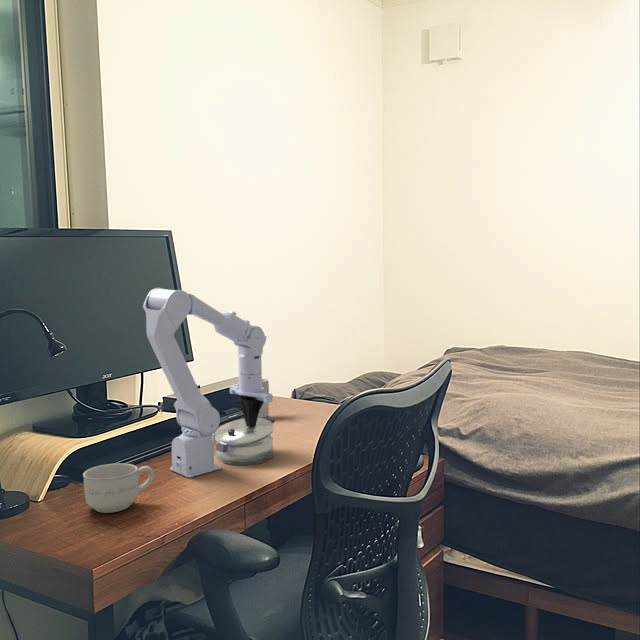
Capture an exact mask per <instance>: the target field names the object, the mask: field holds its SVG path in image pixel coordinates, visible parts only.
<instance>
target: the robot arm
mask: <svg viewBox="0 0 640 640" xmlns="http://www.w3.org/2000/svg"><path fill="white" fill-rule="evenodd" d="M146 295H147V296H146V298H145V300H144V302H143V305H142V308H143V310H144V312H145V318H146V319H145V321H146V322H145V324H146V326H145V327H146V337H147V340H148V342H149V344H150V346H151V348H152V350H153V352H154V354H155V357H156V359H157V360H158V363H159V365H160V367H161V369H162V371H163V374H164V375H165V377H166V380H167V382H168V384H169V385H170V388H171V390H172V393H173V394H174V396H175V398H176V401H175V402H174V403H173V407H174V409H175V411H176V412H175V414H176V415H175V417H176V421H177V424H178V425H179V426H180V427H181V431H182V433H181V434H179V436H177V437H175V438H173V439H172V441H171V466H170V469H169V470H170V471H173V472H175V473H177V474H180V475H182V476H185V477H186V478H193V477H197V476H200V475H203V474H207V473H210V472H215V471H216V470H221V469H222V465H219V464H216V463H215V443H214V441H215V431H216V430H217V429H218V428H219V425H220V422H221V416H220V412H219V411H218V410H217V409H216V408H215V407H213V406H212V404H211V402H210V401H209V399H207V398H206V397H205V396H204V394H202V393H201V392H200V389H199V388H198V386H197V383H196V381H195V379H194V376H193V374H192V371H191V370H190V367H189V365H188V363H187V361H186V359H185V357H184V355H183V352H182V350H181V348H180V346H179V344H178V342H177V340H176V337H175V333H176V331H177V330H178V329H179V328H180V326H181V324H182V323H183V322H184V320H185V319H186V318H187V317H188V315H189V316H195V317H197V318H199V319H201V320H202V321H206V322H207V323H209V324H211V325H213V327H214V328H213V329H214V330H215V332H216V333H217V334H219V335H221V336H223V337H224V338H227V339H229V340H230V341H233V344H234V345H235V346H237V349H238V351H237V355H238V356H237V357H238V385H237V384H234V385H229V394H231V395H239V396H240V398H237V399H236V402H237V404H238V406H239V407H240V409H241V412H242V415H243V417H244V418H243V419H245V422H246V426H248V427H252V426H255V425H256V422H257V418H258V414H259V411H260V409H261V406H262V405H263V403H264V402H265V403H269V404H270V403H272V402H274V401H273V393H270V392H269V393H268V392H266V391H265V388H263V387H262V379H263V378H262V377H263V374H262V373H263V372H262V371H263V369H262V367H263V365H262V355H263V353H264V351H263V350H264V349H263V348H264V346H265V344H266V342H267V336H266V335H265V332H264V331H263V329H262V328H261V326H258V325H251V323H250V321H249V320H248V319H242V318H241V317H239V316H237V312H235V311H234V310H229V311H222V312H220V311H219V310H217V309H215V308H214V307H213V306H211V305H209V304H208V303H207V302H204V301H203V300H201V299H199V297H197V296H195V295H194V294H191V293H188V292H187V291H185V290H183V289H166V288H162V287H155V288H153V289H151V290H150V291H149V292H148V293H147V294H146Z"/></svg>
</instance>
